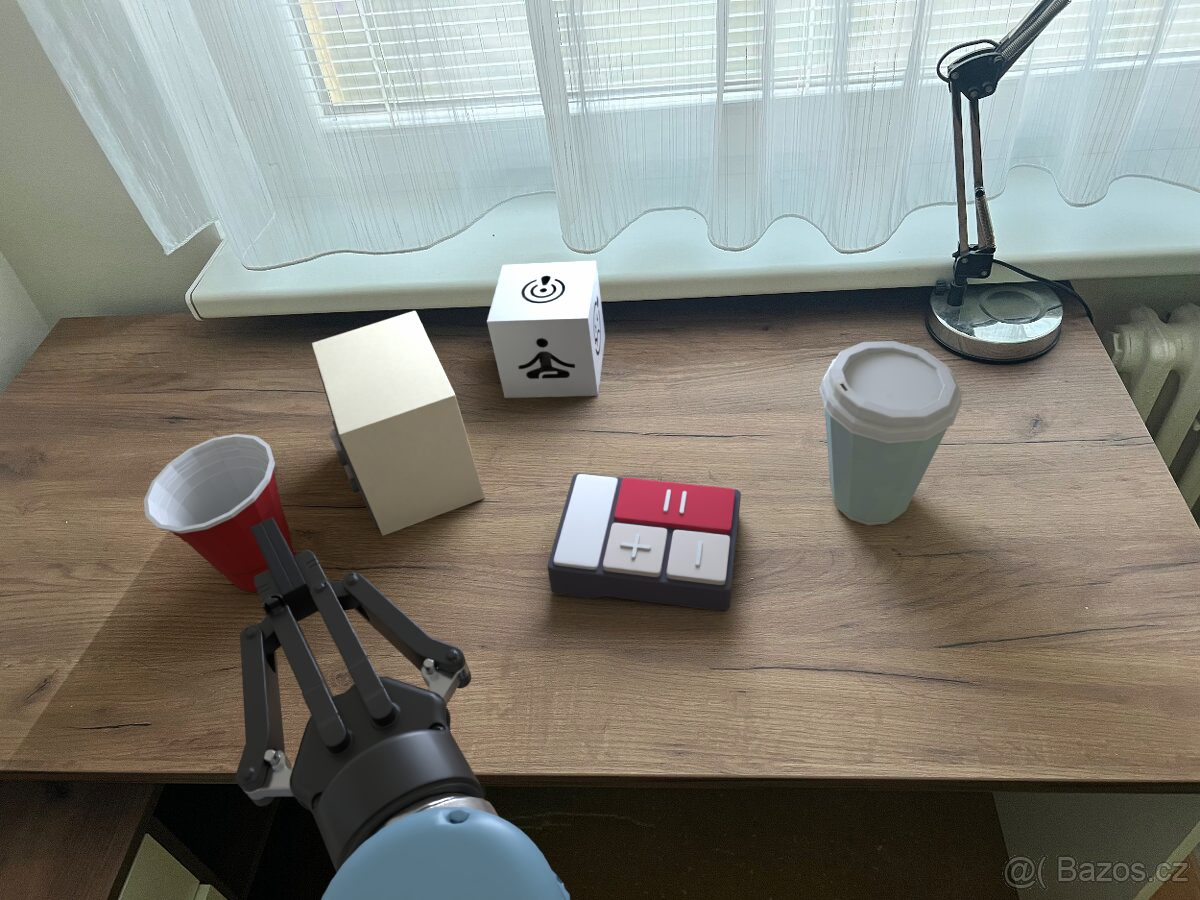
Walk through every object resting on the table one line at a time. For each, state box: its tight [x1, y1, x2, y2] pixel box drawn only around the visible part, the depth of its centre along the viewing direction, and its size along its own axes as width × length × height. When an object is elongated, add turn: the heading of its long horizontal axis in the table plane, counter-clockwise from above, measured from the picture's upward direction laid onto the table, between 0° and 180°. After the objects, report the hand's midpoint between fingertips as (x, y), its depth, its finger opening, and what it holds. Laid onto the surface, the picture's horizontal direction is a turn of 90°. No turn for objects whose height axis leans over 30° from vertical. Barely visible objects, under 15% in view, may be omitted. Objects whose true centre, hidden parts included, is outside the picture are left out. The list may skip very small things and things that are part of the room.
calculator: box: [547, 472, 742, 612], centre depth 75 cm, size 11×4×15 cm
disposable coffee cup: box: [818, 340, 963, 526], centre depth 72 cm, size 11×11×15 cm
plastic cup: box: [143, 433, 296, 593], centre depth 75 cm, size 11×11×12 cm
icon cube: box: [486, 260, 606, 399], centre depth 92 cm, size 10×10×10 cm
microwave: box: [311, 310, 485, 537], centre depth 82 cm, size 11×14×13 cm
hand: (269, 536), depth 56 cm, fingers closed
